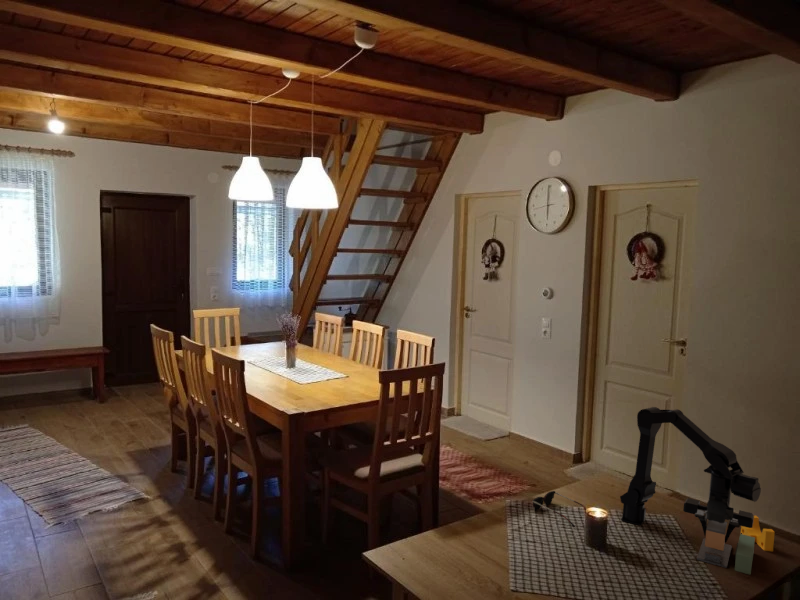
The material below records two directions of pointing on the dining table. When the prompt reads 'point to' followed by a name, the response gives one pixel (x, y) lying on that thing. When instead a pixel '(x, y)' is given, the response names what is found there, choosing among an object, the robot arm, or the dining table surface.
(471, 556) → the dining table surface
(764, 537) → the pipe clamp
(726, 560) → the side mount
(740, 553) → the green long block
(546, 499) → the sunglasses
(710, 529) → the tan and grey block
